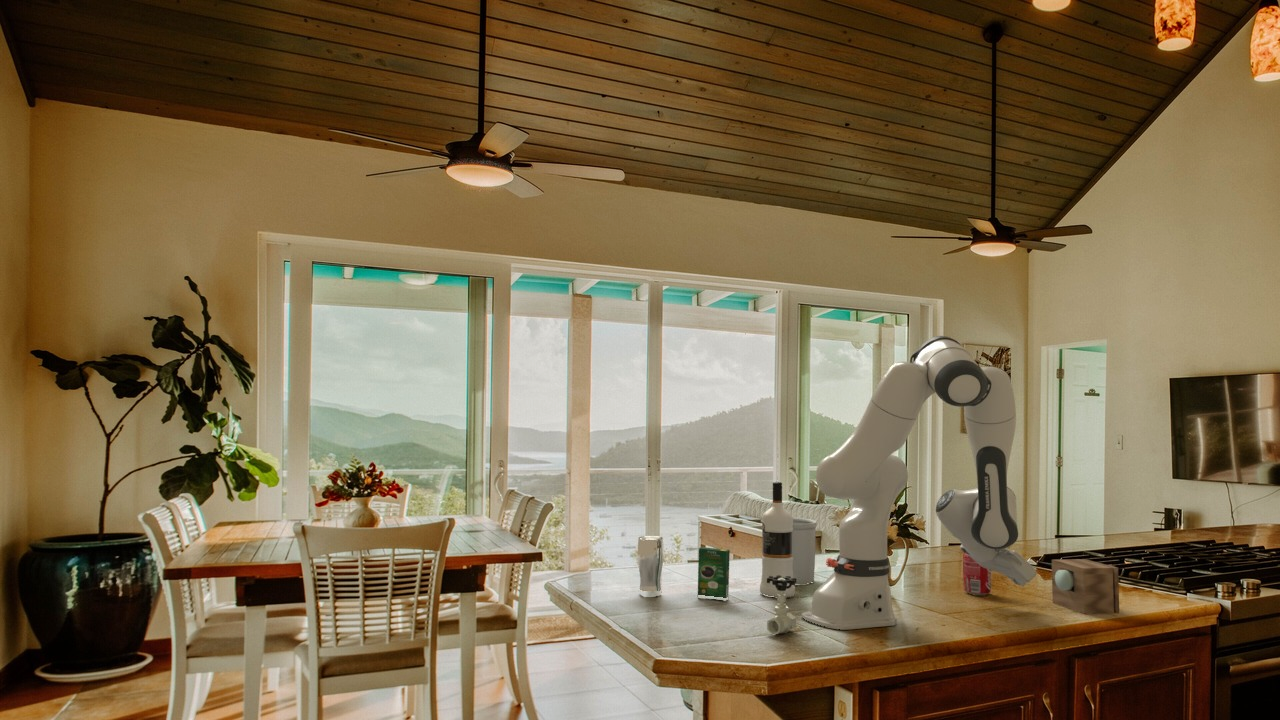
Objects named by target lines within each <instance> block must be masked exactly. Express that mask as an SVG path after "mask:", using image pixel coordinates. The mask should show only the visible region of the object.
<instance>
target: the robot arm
mask: <svg viewBox="0 0 1280 720" xmlns="http://www.w3.org/2000/svg"><path fill="white" fill-rule="evenodd" d="M935 393H936V395H937V397H939V399H940V400H942V401H943V402H944V403H945V404H948V405H950V406H954V407H963V412H964V413H963V414H964V417H963V419H964V425H965V429H966V435H967V438H968V442H969V446H970V450H971V454H972V457H973V462H974V467H975V470H976V481H977V482H976V483H977V487H976V488H971V489H966V490H963V489H962V490H961V489H952V488H951V489H949V490H947V491H946V492H944V493H943V494H942V495H941V496H940V497H939V499H938V500H937V502H936V505H935V514H936V517H937V518H938V520H939V521H940V523H941V524H942V525H943V526H944V528H945V529H946V530H947V532H949V533H950V535H952V536H953V537H954V538H956V539H958V540H959V542H960V546H958V547H959V549H960V550H961V551H962V552H963V554H964V553H966V554H968V555H969V556H970V557H971V558H972V559H973V560H974V561H976V562H977V563H978V564H979V565H980V566H982V567H983V568H986V569H989V570H991V572H995V573H998V574H1001V575H1003V576H1005V577H1006V578H1008V579H1010V581H1012V583H1014V584H1015V585H1018V586H1019V587H1022V588H1023V587H1025V586H1026V584H1028V583H1030V582H1031V581H1032V580H1033V579H1034V578H1035V577H1036V575H1037V570H1036V569H1035V567H1033V565H1031V564H1030V563H1029V561H1027V560H1026V558H1024V557H1023V556H1022V555H1021V554H1020V553H1019V552H1017V551H1016V550H1013V549H1009V547H1011V546H1013V545H1014V544H1015V543H1016V542H1017V540H1018V537H1019V529H1018V520H1017V519H1018V517H1017V512H1018V511H1017V497H1016V495H1015V493H1014V491H1013V490H1012V489H1011V488H1009V487H1008V481H1007V480H1008V469H1009V463H1010V457H1011V453H1012V447H1013V443H1014V438H1015V432H1016V423H1017V410H1016V399H1015V395H1014V390H1013V385H1012V382H1011V378H1010V376H1009V374H1008V373H1007V372H1006V371H1005V370H1004V369H1002V368H999V367H996V366H981V367H980V366H979V364H978V363H977V361H975V359H974V357H973V356H972V354H971V353H970V352H969V351H968V350H967V349H965V348H964V347H963V346H962V345H961V343H960V342H958V341H957V340H955V339H953V338H951V337H950V336H945V335H936V336H933V337H930V338H928V339H927V340H926V341H924V342H923V343H922V344H921V345H920V347H919V348H918V350H917V351H915V352H914V353H912V355H911V357H910V360H909V361H897V362H895V363H893V364H892V365H891V366H890V367H889V368H888V369H887V370H886V372H885V373H884V374H883V376H882V378H881V379H880V381H879V382H878V384H877V386H876V387H875V390H874V391H873V393H872V396H871V398H870V400H869V402H868V404H867V406H866V409H865V411H864V413H863V416H862V417H861V419H860V421H859V423H858V425H857V426H856V427H855V429H854V431H852V433H851V434H850V435H849V436H848V438H846V440H845V441H844V442H843V443H842V444H841V445H840V446H839V447H838V448H837V449H835V450H834V451H833V452H832V453H831V454H829V455H827V456H825V457H824V458H822V459H821V460H820V461H819V463H818V464H817V467H816V471H815V480H816V484H817V486H818V489H819V490H820V492H821V493H822V494H824V495H825V496H827V497H829V498H833V499H838V500H839V499H840V500H853V502H852V505H851V507H850V509H849V511H848V513H847V514H846V515H845V516H844V517H842V519H841V520H840V523H839V527H838V528H839V532H838V533H839V534H838V535H839V537H838V539H839V554H837V558H836V559H834V558H829V557H828V558H826V561H825V565H826V566H827V567H828V568H829V567H830V568H833V571H834V572H832V574H831V575H830V576H829V577H828V578H827V579H826V580H825V581H824V582H823V583H822V584H821V585H820V586H819V587H818V588H817V589H816V590H815V591H814V593H813V595H812V602H811V610H807V611H804V612H802V613H801V618H802V617H803V618H804V619H805V620H804V619H803V618H802V619H803V620H804V621H806V620H807V621H806V622H808V621H810V622H809V623H811V622H812V624H814V623H815V624H814V625H817V624H818V626H820V625H821V626H820V627H824V626H825V627H824V628H829V629H833V630H839V629H840V631H841V630H842V631H844V630H845V631H846V630H856V629H857V630H858V629H868V628H879V627H890V626H896V625H897V621H896V616H895V614H894V610H893V609H894V608H893V602H892V600H893V599H892V593H891V586H890V583H889V582H890V581H889V577H888V576H889V574H890V558H888V527H889V526H888V525H889V519H890V516H891V514H892V513H891V512H892V510H893V506H894V504H895V501H896V499H897V498H898V496H899V495H900V494H901V492H902V491H904V489H905V488H906V486H907V484H908V481H909V471H908V467H907V465H906V463H905V462H904V461H903V459H901V458H900V457H898V456H896V455H893V454H894V453H895V452H896V451H898V450H900V449H901V448H902V447H903V446H904V444H905V443H906V441H907V439H908V437H909V435H910V433H911V431H912V428H913V427H914V425H915V422H916V420H917V418H918V417H919V414H920V412H921V409H922V407H923V405H924V403H925V402H926V401H927V400H928V398H930V397H931V396H933V395H934V394H935ZM866 481H867V482H866Z"/></svg>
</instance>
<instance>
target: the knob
mask: <svg viewBox="0 0 1280 720" xmlns="http://www.w3.org/2000/svg"><path fill="white" fill-rule="evenodd" d="M1055 582H1056V585H1057V587H1058V588H1059V589H1060V590H1071V589H1072V587H1074V572H1073V573H1070V572H1069V571H1068V570H1058V571H1057V572H1056V574H1055Z"/></svg>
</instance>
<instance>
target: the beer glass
mask: <svg viewBox="0 0 1280 720" xmlns="http://www.w3.org/2000/svg"><path fill="white" fill-rule="evenodd" d="M637 539H638V541H637V553H636V554H637V563H638V564H637V565H638V572H639V577H640V579H639V589H640V590H642V591H652V592H654V591H660V590H661V591H662V587H661V576H662V571H663V570H662V569H663V564H664V556H665V555H664V552H665V551H664V550H665V549H664V537H662V536H657V535H645V536H639V537H638V538H637Z"/></svg>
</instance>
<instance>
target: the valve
mask: <svg viewBox="0 0 1280 720" xmlns="http://www.w3.org/2000/svg"><path fill="white" fill-rule="evenodd" d="M770 581H772V585H775V587H776V588H777V590H779V594H778V595H777V598H776V599H777V600H776V601H777V602H778V603H776V605H775V606H774V612H775V613H776V615H775V616H773V618H770V619H768V620H767V621H766V622H767V623H766V629H767V631H768V632H769V633H770V634H771V633H772V634H777V635H779V633H785V634H787V633H788V632H790V630H792V629H794V628H796V626H797V618H796V617H795V616H794V615H793V614H792V613H791V612H789V607H788V605H787V604H786V603H785V602H787V598H786V595H785V594H784V591H786V589H789V588H790V587H791V586H792V585H794V586H796V585H795V583H796V578H791V577H790V576H786V577H781V576H780V575H777V576H776V577H773V576H769V577H768V578H767V583H770ZM787 583H789V586H787ZM772 634H771V635H772Z"/></svg>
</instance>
